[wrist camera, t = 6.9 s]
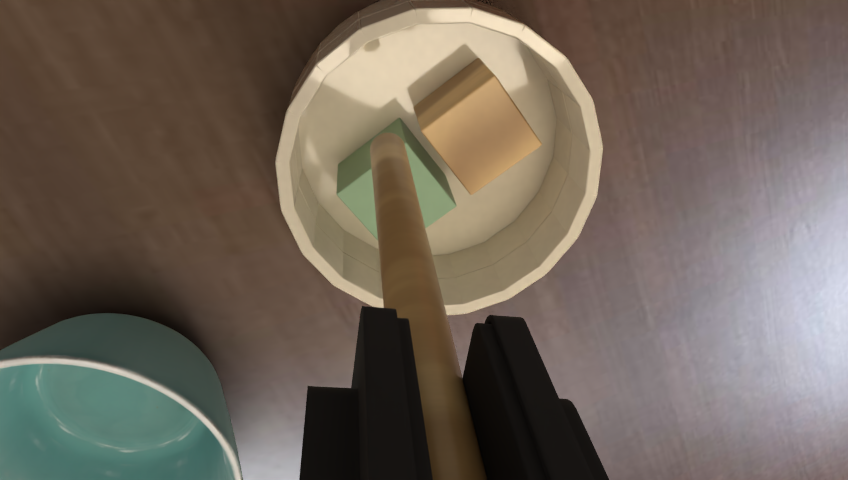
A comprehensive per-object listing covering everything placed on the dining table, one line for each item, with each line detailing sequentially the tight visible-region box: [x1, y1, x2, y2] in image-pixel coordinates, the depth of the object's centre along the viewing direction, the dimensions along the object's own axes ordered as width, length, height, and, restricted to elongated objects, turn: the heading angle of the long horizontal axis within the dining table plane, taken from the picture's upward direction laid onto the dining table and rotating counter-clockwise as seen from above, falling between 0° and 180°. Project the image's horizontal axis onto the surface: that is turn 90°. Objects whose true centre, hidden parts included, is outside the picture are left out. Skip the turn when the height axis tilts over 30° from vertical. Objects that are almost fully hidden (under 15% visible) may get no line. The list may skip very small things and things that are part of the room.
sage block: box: [336, 118, 457, 240], centre depth 31 cm, size 4×4×4 cm
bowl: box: [0, 313, 243, 480], centre depth 34 cm, size 16×16×8 cm
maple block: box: [413, 58, 542, 195], centre depth 30 cm, size 4×4×4 cm
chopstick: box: [370, 133, 487, 480], centre depth 14 cm, size 1×1×18 cm
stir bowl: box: [275, 0, 603, 315], centre depth 31 cm, size 14×14×6 cm
